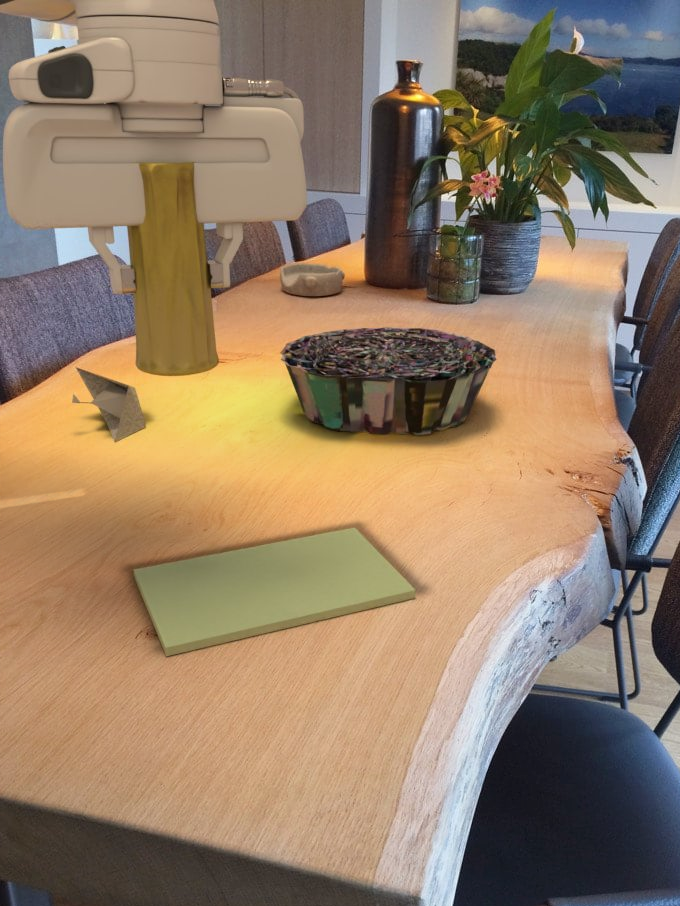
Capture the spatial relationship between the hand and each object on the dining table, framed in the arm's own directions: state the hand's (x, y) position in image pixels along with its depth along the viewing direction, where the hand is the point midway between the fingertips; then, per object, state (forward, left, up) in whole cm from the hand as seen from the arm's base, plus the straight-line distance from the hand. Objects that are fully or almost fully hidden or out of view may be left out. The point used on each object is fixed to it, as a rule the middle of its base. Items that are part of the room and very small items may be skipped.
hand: (171, 289), depth 60 cm
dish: (+53, +109, -24) cm, 123 cm away
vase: (0, 0, -6) cm, 6 cm away
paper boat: (-1, +39, -24) cm, 45 cm away
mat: (+5, -5, -23) cm, 24 cm away
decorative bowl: (+33, +31, -24) cm, 51 cm away
